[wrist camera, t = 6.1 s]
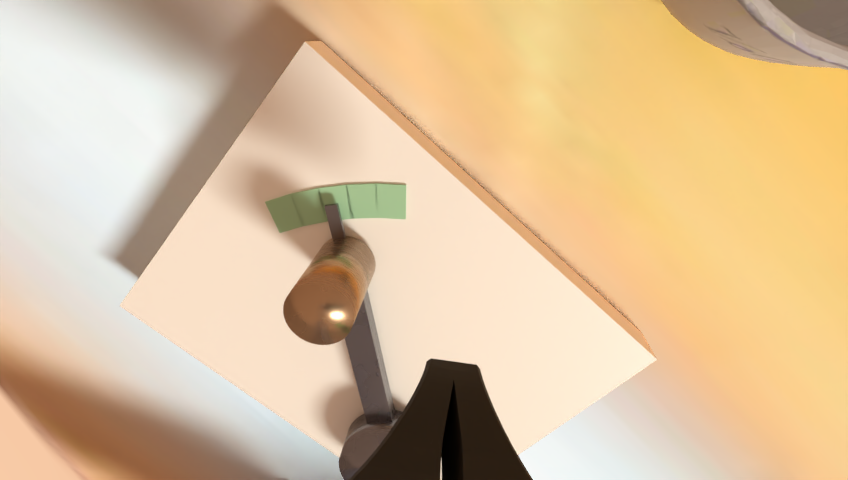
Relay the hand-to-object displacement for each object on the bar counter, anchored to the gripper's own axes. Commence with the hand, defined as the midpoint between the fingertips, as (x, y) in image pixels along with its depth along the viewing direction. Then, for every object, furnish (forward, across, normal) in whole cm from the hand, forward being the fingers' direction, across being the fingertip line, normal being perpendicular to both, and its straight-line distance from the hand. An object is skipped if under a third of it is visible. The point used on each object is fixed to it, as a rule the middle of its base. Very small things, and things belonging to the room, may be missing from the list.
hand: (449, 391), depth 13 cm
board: (+9, +3, +4) cm, 11 cm away
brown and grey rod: (+7, +3, +5) cm, 9 cm away
